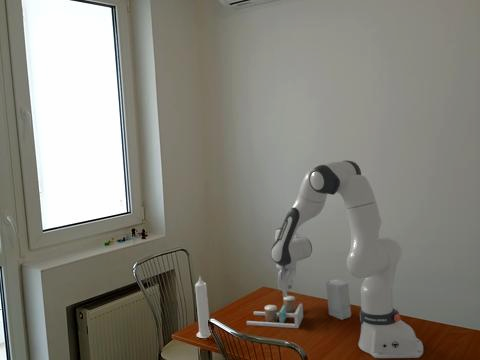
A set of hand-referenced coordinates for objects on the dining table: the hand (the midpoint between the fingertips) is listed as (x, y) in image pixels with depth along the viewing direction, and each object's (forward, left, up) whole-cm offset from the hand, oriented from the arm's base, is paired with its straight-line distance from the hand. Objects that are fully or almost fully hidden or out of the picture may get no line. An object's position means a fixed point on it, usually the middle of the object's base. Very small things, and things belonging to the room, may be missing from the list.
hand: (287, 292), depth 212 cm
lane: (+4, +11, -9) cm, 15 cm away
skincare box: (-23, +2, -9) cm, 24 cm away
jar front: (+5, +11, -9) cm, 15 cm away
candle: (+29, +29, -9) cm, 42 cm away
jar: (-1, 0, -8) cm, 8 cm away
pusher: (-2, +11, -9) cm, 14 cm away
